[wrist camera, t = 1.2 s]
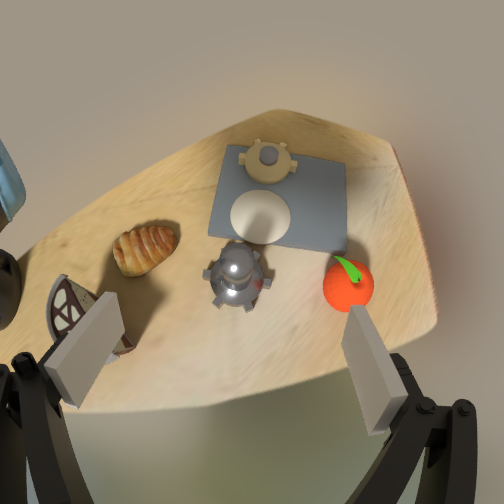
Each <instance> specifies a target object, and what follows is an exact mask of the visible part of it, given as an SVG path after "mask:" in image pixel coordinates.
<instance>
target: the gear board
mask: <svg viewBox="0 0 504 504" xmlns="http://www.w3.org/2000/svg"><path fill="white" fill-rule="evenodd" d="M286 147H287V144H285V143H284V142H281V143H280V144H279V145H278V144H276V143H272V142H262V141H261V140H260V138H258V139H254V144H253V146H252V147H243V146H235V145H227V148H226V152H225V156H224V160H223V164H222V169H221V173H220V177H219V182H218V186H217V191H216V195H215V200H214V204H213V209H212V213H211V218H210V223H209V228H208V235H209V236H213V237H221V238H228V239H235V240H242V241H248V242H251V243H254V244H271V245H277V246H284V247H291V248H298V249H305V250H312V251H319V252H326V253H332V254H339V255H344V254H345V253H346V252H347V205H346V179H345V164H344V163H339V162H334V161H329V160H324V159H319V158H314V157H309V156H303V155H298V154H292V153H288V152H287V150H286Z"/></svg>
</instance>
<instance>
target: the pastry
mask: <svg viewBox="0 0 504 504" xmlns="http://www.w3.org/2000/svg"><path fill="white" fill-rule="evenodd" d="M176 245H177V240H176V237H175V235H174V232H173V230H172V229H171V228H168V227H166V226H156V225H154V226H152V227H148V226H144V227H143V228H136V229H133V230H132V231H131V232H130V233H129V232H124V233H123V234H122V235H121V236H120V238H119V239H117V240H116V241H115V242H114V243H113V246H112V247H113V253H114V257H115V260H116V261H117V265H118V267H119V269H120V271H121V273H122V274H123V276H125V277H135V276H141V275H143V274H145V273H147V272H149V271H150V270H152V269H153V268H154V267H156V266H157V265H159V264H160V263H161V262H162V261H164V260H165V259H166V258H168V257H169V256H170V255H171V254H172V252H173V251H174V250H175V248H176Z"/></svg>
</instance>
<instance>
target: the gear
mask: <svg viewBox="0 0 504 504" xmlns="http://www.w3.org/2000/svg"><path fill="white" fill-rule="evenodd" d="M260 255H261V254H259V253H258V252H257V251H255V250H254V252H253V251H252V250H251V249H250V247H248V246H247V245H245V244H243V243H231V244H229V245H227V246H226V247H225V248H222V249H221V254H220V258H219V259H218V260H217V261H216V263H215V264H214V266H213V267H212V270H205V269H204V270H203V276H202V277H203V279H204V280H208V281H210V283H211V287H212V289H213V292H214V294H215V295H216V298H215V299H214V301H213V302H212V303H213V305H215V306H216V307H217V308H218V309H219V308H220V307H221V306H222V305H223V303H225V304H227V305H229V306H235V307H239V306H243V307H244V309H245V312H246V313H247V312H250V311H252V310H253V309H254V308H253V305H252V303H251V302H252V301H254V300H255V299H256V298H257V296H258V295H259V293H260V291H261V289H262V288H264V289H270V287H271V279H268V278H264V275H263V271H262V268H261V266H260V264H259V263H258V262H257V261H258V260H259V259H260Z"/></svg>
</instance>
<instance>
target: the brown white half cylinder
mask: <svg viewBox="0 0 504 504" xmlns="http://www.w3.org/2000/svg"><path fill="white" fill-rule="evenodd" d="M67 277H68V275H65V274H60V275H59V277H58V278H57V279H56V281H55V282H54V284H53V286H52V288H51V290H50V292H49V295H48V299H47V304H46V321H47V326H48V330H49V333H50V335H51V337H52V339H53V341H54V342H55V341H56V340H57V339H58V338H59V337H60V336H61V335H63V334H64V333H66V332H68V333H70V331H71V330H72V329H73V328H74V327H75V326H76V324H77V323H78V322H79V321H80V320H81V318H82V317H83V316H84V315H85V314H86V313H87V311H88V310H89V309H90V308H91V307H92V306H93V305H94V304H95V302H96V301H97V300H98V299H99V298H100V297H99V296H97V295H95V294H94V293H92V292H90V291H88V290H87V289H85V288H83V287H82V286H80V285H78V284H77V283H75V282H73V281H72V280H70V279H69V278H67ZM135 348H136V347H135V346H134V345H133V344H132V342H131V341H130V340H129V338H128V337H127V336H126V334H125V333H123V335H122V337H121V338H120V340H119V341H118V343H117V345H116V346H115V348H114V349H113V351H112V353H111V354H110V356H109V358H108V359H107V361H106V363H105V364H104V365H107V364H109V363H111V362H113V361H115V360H116V359H118V358H119V357H120V356H119V355H123V354H126V353H128V352H130V351H132V350H133V349H135Z"/></svg>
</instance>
